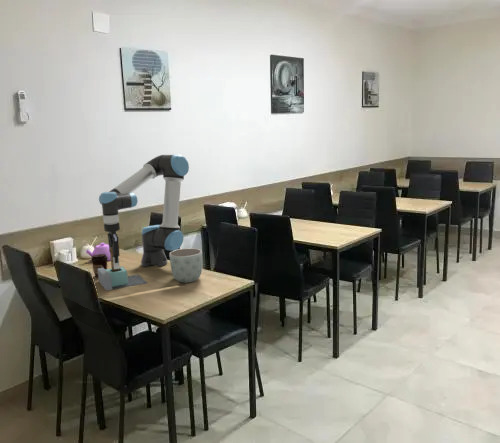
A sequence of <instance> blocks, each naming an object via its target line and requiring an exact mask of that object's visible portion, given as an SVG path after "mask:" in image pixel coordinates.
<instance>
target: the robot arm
mask: <svg viewBox="0 0 500 443" xmlns="http://www.w3.org/2000/svg"><path fill="white" fill-rule="evenodd" d="M189 165H190V164H189V161H188V160H187V158H186V157H185V156H183V155H181V154H161V155H157V156H155V157H153V158H152V159H150V160H148V161H147V162H145V163H144V164H143V166H142V167H141V168H140V169H139V170H138V171H136V172H135V173H133V174H132V175H131V176H129V177H128V178H126V179H125V180H124V181H122V182H121V183H119V184H118V185H117V186H115V187H113V188H112V189H111V190H109V191H105V192H102V193H100V194H99V197H98V201H99V203H100V205H101V209H102V216H103V217H101V219H102V220H103V229H104V232H107V233H106V235H107V239H108V240H107V241H108V245H109V252H110V247H112V250H113V256H112V257H113V264H114V269H119V268H120V267H121V266H120V258H119V256H120V246H119V237H118V233H117V232H118V231H120V229H121V228H120V227H121V226H120V214H119V211H120V210H124V209H131V208H134V207H136V206H137V205H138V197H137V195H136V194H135V193H133V192H134V191H136V190H137V189H139V188H140V187H141V186H143V185H144V184H145V183H147V182H148V181H149V180H151V179H153V180H154V179H155V178H157V177H159V176H163V177H162V178H163V180H165V185H164V198H163V208H162V209H163V210H162V212H163V213H162V223H161V224H154V225H148V226H145V227H142V228H141V240H142V242H141V243H142V251H143V253H142V257H141V262H140V264H141V267H144V268H151V267H158V268H159V267H163V266H166V265H168V259H167V256H166V254H165V250H166V251H171V252H172V251H174V250H178V249H180V247H182V245H183V243H184V234H183V232H182V231H181V226H180V225H179V211H180V198H181V197H180V196H181V187H182V186H181V185H182V184H181V183H182V182H183V181H184V178H185V176H186V175H187V174H188V173H189V170H190V166H189Z"/></svg>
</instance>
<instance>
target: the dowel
mask: <svg viewBox="0 0 500 443" xmlns="http://www.w3.org/2000/svg"><path fill="white" fill-rule="evenodd" d="M112 256H113V250H112V247H110V257H111V260H110V265H111V268H112V272H116V271H120V268H119V269H114V264H113V257H112Z"/></svg>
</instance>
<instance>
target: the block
mask: <svg viewBox="0 0 500 443" xmlns="http://www.w3.org/2000/svg"><path fill="white" fill-rule="evenodd" d="M105 270H106V271H107V272H108V273H109V274H110V276H111V281H112V287H114V286H115V287H116V286H117V287H120V286H119V285H123V286H124V285H125V284H128V282H129V281H128V279H129V278H128V277H127V276H128V270H126V268H125V267H123V266H120V271H116V272H112V267H111V268H107V269H105Z"/></svg>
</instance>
